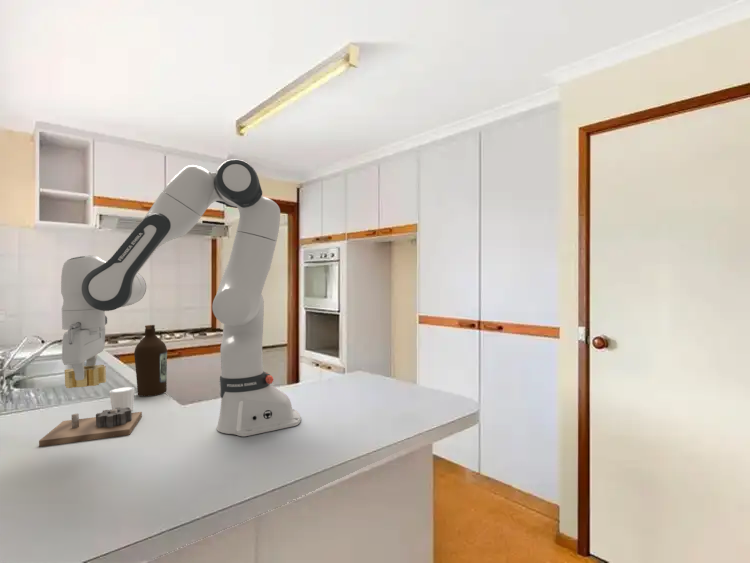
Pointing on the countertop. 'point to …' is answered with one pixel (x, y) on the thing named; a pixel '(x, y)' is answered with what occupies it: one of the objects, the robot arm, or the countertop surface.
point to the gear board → (93, 427)
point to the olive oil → (151, 364)
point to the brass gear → (86, 376)
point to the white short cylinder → (122, 397)
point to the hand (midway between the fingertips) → (85, 376)
